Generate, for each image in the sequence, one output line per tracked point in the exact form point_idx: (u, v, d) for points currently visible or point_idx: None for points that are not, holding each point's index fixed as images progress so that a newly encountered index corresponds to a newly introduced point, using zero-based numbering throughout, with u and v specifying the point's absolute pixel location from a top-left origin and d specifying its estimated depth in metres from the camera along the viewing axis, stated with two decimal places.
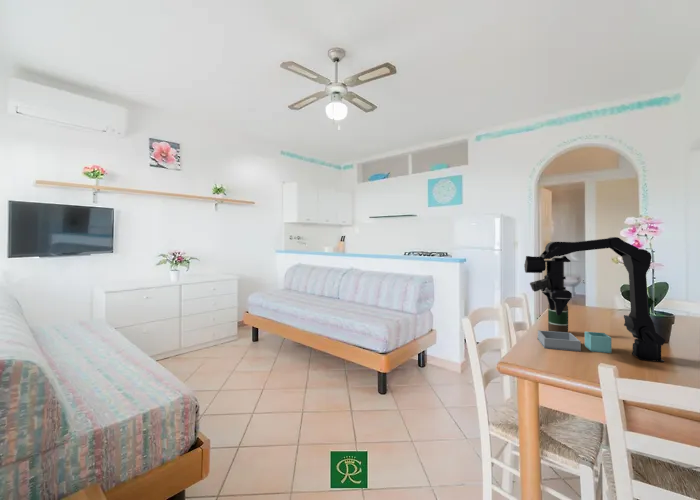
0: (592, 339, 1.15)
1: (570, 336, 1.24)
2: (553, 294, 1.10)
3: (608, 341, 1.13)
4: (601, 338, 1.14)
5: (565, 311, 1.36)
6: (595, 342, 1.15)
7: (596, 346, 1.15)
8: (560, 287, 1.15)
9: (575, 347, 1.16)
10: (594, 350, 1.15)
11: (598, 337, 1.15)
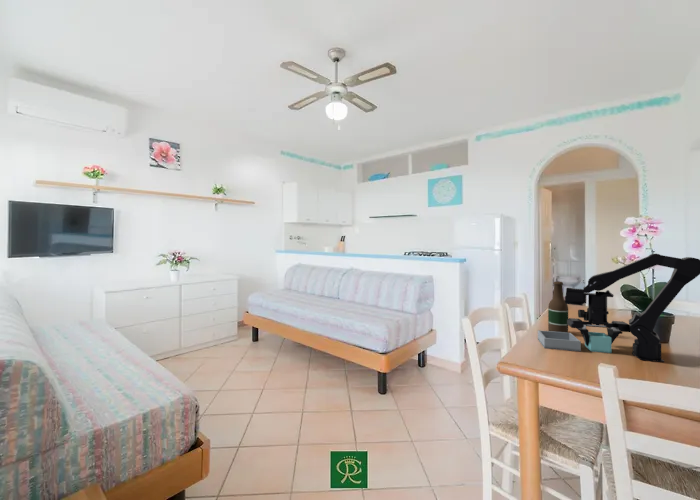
0: (592, 339, 1.15)
1: (570, 336, 1.24)
2: None
3: (608, 341, 1.13)
4: (601, 338, 1.14)
5: (565, 311, 1.36)
6: (595, 342, 1.15)
7: (596, 346, 1.15)
8: (590, 320, 1.17)
9: (575, 347, 1.16)
10: (594, 350, 1.15)
11: (598, 337, 1.15)
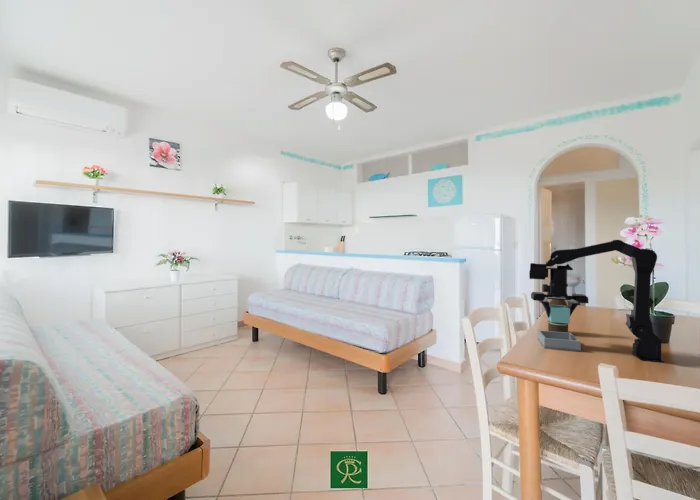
0: (552, 310, 1.21)
1: (570, 336, 1.24)
2: None
3: (567, 312, 1.19)
4: (560, 309, 1.20)
5: None
6: (555, 313, 1.20)
7: (556, 317, 1.20)
8: (551, 293, 1.22)
9: (575, 347, 1.16)
10: (554, 321, 1.21)
11: (557, 308, 1.20)
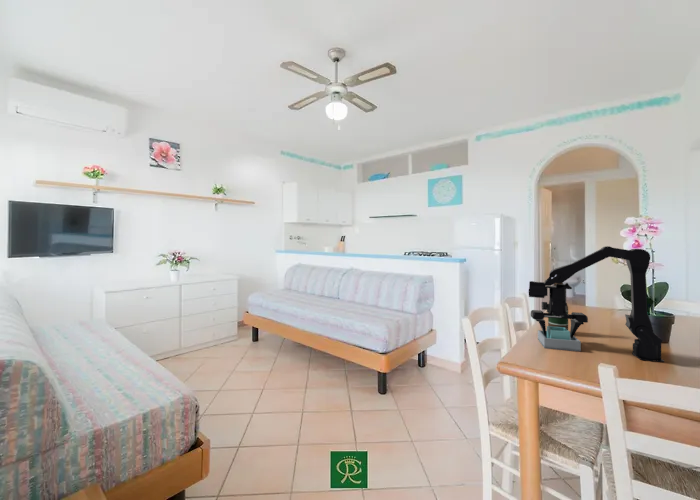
0: (552, 333, 1.21)
1: None
2: None
3: (567, 335, 1.19)
4: (560, 332, 1.20)
5: None
6: (555, 336, 1.21)
7: None
8: (551, 311, 1.23)
9: (575, 347, 1.16)
10: None
11: (557, 331, 1.20)
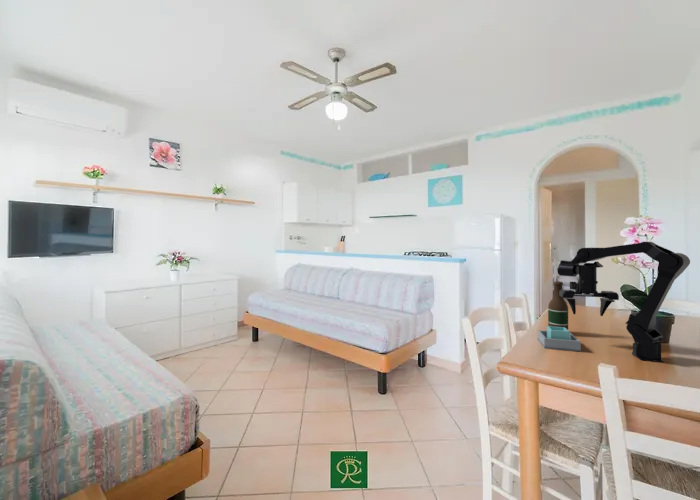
0: (552, 333, 1.21)
1: (570, 336, 1.24)
2: None
3: (567, 335, 1.19)
4: (560, 332, 1.20)
5: (565, 311, 1.36)
6: (555, 336, 1.21)
7: None
8: (581, 290, 1.24)
9: (575, 347, 1.16)
10: None
11: (557, 331, 1.20)
